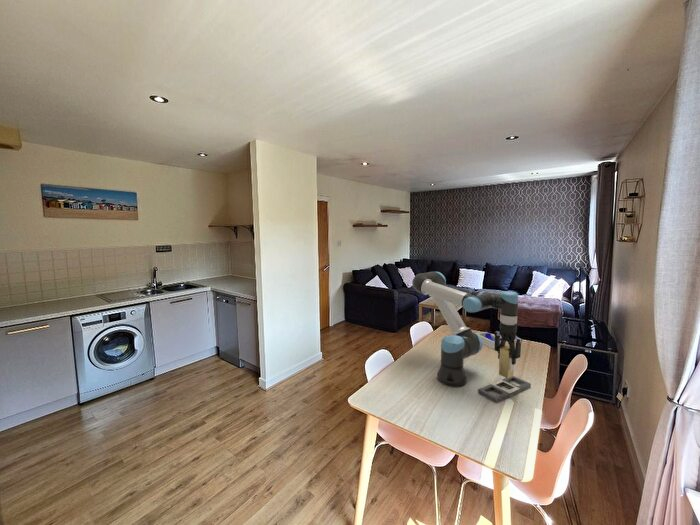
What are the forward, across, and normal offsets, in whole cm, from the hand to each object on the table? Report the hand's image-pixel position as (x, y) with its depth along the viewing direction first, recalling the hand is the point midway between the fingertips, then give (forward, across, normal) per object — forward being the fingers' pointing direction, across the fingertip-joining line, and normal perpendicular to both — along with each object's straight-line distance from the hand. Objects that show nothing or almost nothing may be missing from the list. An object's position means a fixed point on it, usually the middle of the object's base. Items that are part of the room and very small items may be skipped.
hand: (506, 367), depth 147 cm
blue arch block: (+12, +42, -49) cm, 65 cm away
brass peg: (+4, 0, 0) cm, 4 cm away
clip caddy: (+12, +43, -48) cm, 65 cm away
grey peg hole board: (+12, 0, 0) cm, 12 cm away
